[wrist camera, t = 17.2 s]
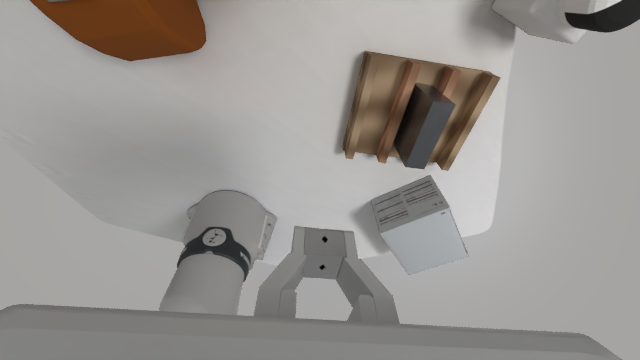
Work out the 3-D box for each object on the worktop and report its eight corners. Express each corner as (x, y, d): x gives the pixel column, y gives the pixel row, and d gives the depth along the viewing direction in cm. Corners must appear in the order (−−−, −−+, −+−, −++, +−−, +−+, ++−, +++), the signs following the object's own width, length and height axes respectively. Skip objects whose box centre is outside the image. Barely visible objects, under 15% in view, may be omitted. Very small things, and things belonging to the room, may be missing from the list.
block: (408, 143, 44) (424, 169, 37) (391, 140, 43) (405, 166, 37) (432, 85, 38) (455, 104, 31) (413, 82, 37) (433, 101, 31)
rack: (441, 160, 47) (449, 170, 44) (342, 147, 45) (344, 158, 42) (488, 71, 38) (502, 78, 35) (365, 50, 36) (369, 56, 33)
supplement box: (369, 199, 53) (378, 233, 46) (430, 173, 49) (450, 206, 42) (397, 242, 62) (408, 277, 55) (450, 223, 58) (470, 257, 51)
